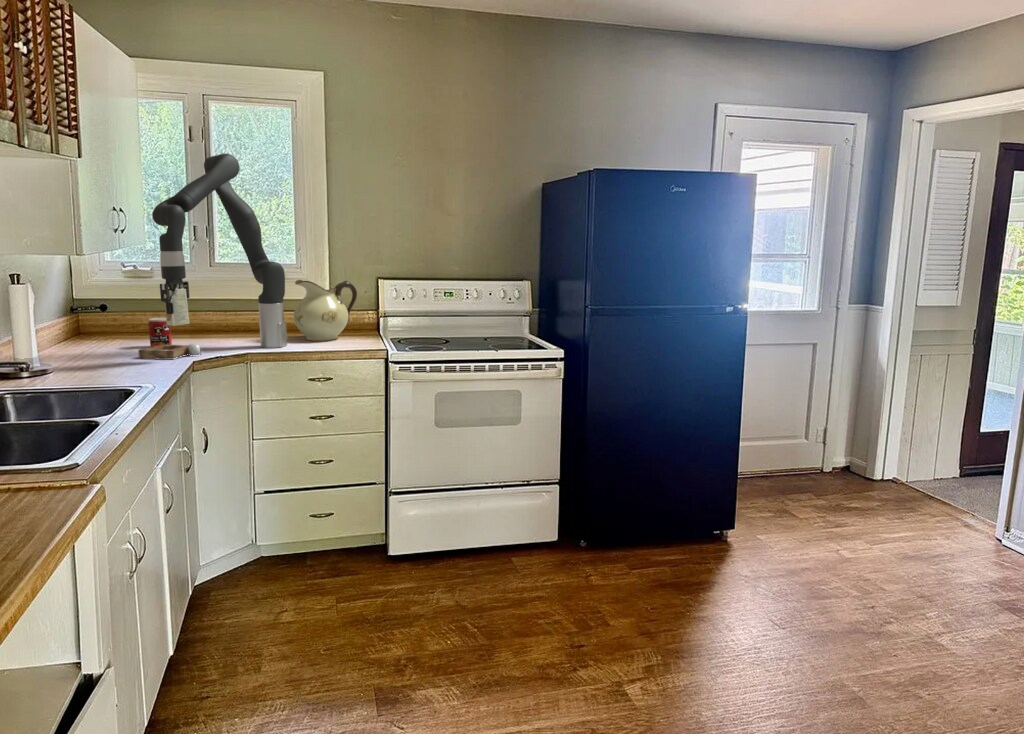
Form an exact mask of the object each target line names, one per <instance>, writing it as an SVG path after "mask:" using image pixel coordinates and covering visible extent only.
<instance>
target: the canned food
mask: <svg viewBox="0 0 1024 734" xmlns="http://www.w3.org/2000/svg"><path fill="white" fill-rule="evenodd" d="M148 332H149V345H150V347H153V346H157V345H161V344H162V345H173V341H172V326H171V325H167V321H166V317H152V318H148Z"/></svg>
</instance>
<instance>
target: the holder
mask: <svg viewBox="0 0 1024 734" xmlns="http://www.w3.org/2000/svg"><path fill="white" fill-rule="evenodd" d="M189 345H190V344H172V345H162V344H161V345H157V346H153V347H151V346H150V347H146V348H142V349H138V357H139V358H138V359H142V358H176V357H180V356H183V355H187V354H189Z"/></svg>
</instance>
